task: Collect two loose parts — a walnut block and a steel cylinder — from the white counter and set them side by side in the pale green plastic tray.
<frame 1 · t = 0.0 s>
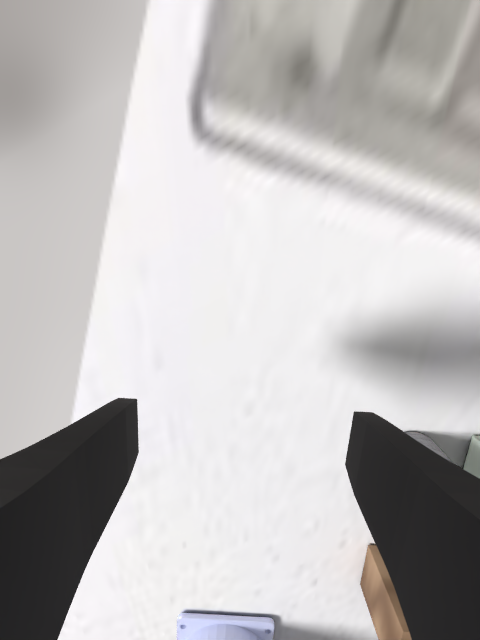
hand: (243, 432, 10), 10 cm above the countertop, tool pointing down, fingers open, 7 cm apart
steel cylinder: (408, 456, 22), on the countertop
walnut block: (389, 566, 25), on the countertop
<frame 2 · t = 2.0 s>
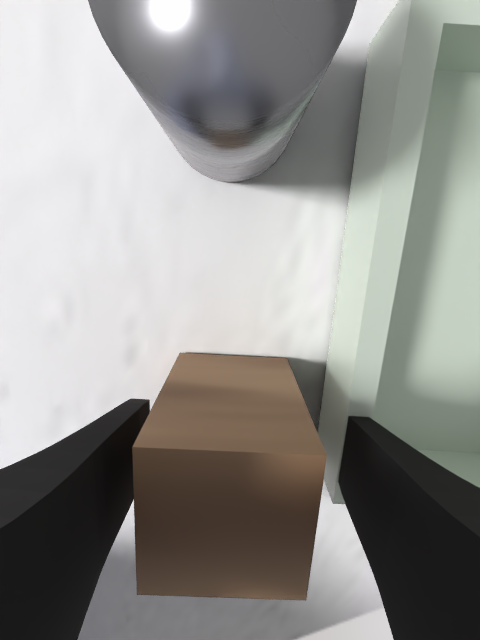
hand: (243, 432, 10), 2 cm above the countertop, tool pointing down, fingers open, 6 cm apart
steel cylinder: (230, 112, 10), on the countertop
tray: (450, 287, 11), on the countertop
walnut block: (230, 403, 12), on the countertop
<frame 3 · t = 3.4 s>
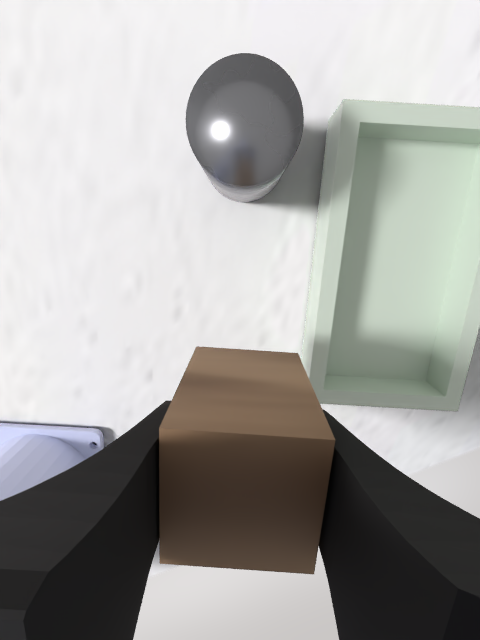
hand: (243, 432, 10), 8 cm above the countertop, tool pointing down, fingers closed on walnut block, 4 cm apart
steel cylinder: (244, 160, 16), on the countertop
tray: (384, 268, 17), on the countertop
walnut block: (243, 395, 13), point 6 cm above the countertop, touching gripper
when the fingers open (3 cm above the countertop, at t = 5.2 s): walnut block stays where it is, resting on tray.
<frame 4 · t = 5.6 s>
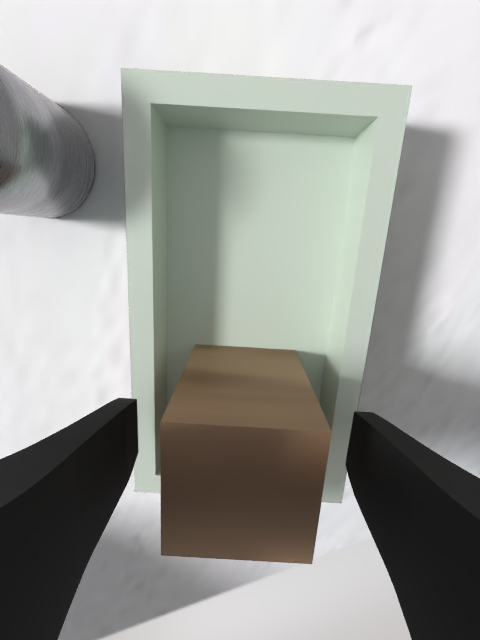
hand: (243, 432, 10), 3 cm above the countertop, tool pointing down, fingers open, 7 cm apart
steel cylinder: (40, 160, 12), on the countertop
tray: (248, 306, 13), on the countertop
walnut block: (242, 392, 13), point 1 cm above the countertop, touching tray
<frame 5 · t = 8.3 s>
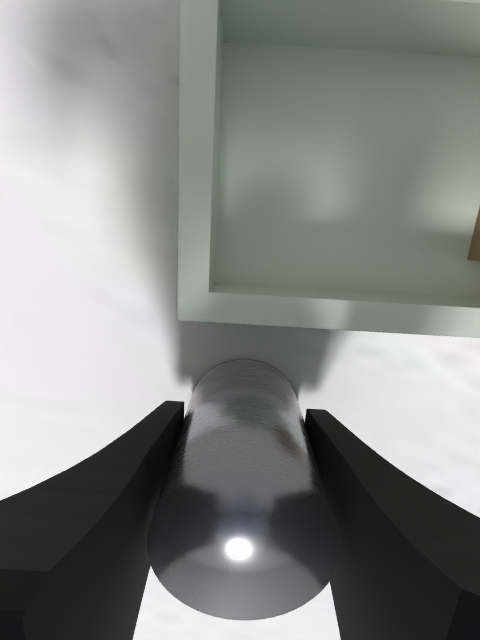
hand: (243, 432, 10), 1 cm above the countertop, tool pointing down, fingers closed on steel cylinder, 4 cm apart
steel cylinder: (243, 409, 12), on the countertop, touching gripper
tray: (420, 188, 10), on the countertop
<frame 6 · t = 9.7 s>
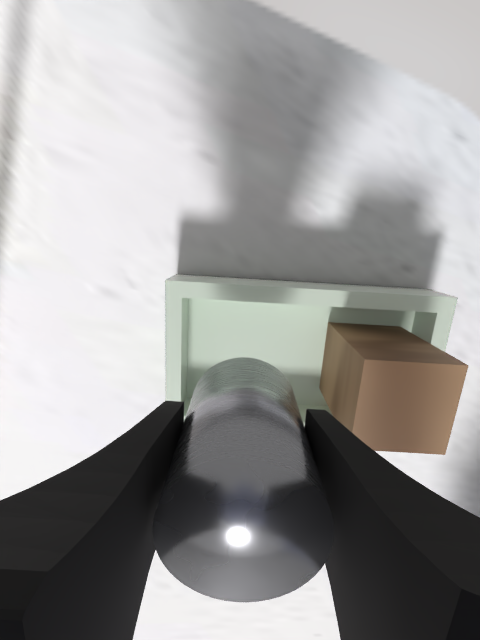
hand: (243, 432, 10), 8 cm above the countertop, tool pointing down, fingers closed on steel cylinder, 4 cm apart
steel cylinder: (243, 405, 12), point 7 cm above the countertop, touching gripper
tray: (295, 349, 19), on the countertop
walnut block: (358, 358, 18), point 1 cm above the countertop, touching tray
when the fingers open (3 cm above the countertop, at t = 11.0 s): steel cylinder stays where it is, resting on tray.
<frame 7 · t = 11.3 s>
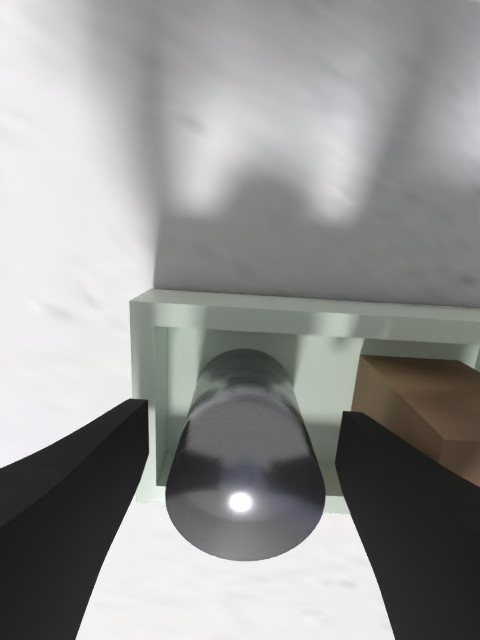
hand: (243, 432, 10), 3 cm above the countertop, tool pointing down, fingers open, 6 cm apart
steel cylinder: (243, 393, 13), point 1 cm above the countertop, touching tray
tray: (313, 389, 14), on the countertop
walnut block: (400, 402, 13), point 1 cm above the countertop, touching gripper, tray
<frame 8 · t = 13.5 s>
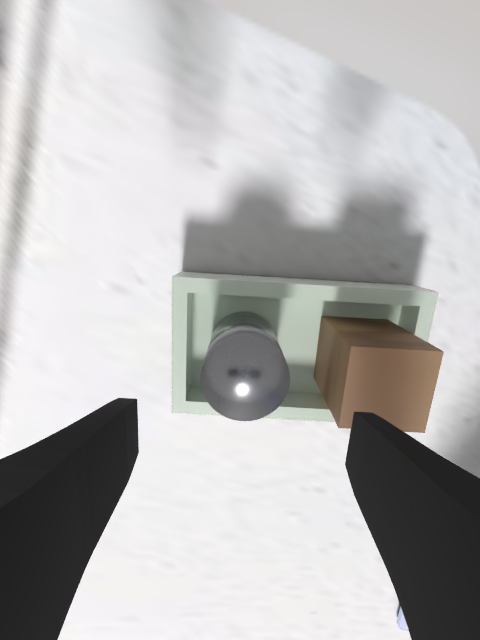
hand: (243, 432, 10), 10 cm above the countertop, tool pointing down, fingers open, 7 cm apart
steel cylinder: (243, 343, 19), point 1 cm above the countertop, touching tray
tray: (291, 341, 20), on the countertop
walnut block: (349, 348, 20), point 1 cm above the countertop, touching tray
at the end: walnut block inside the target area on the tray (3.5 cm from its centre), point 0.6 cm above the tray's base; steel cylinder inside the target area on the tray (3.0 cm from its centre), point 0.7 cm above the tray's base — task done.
